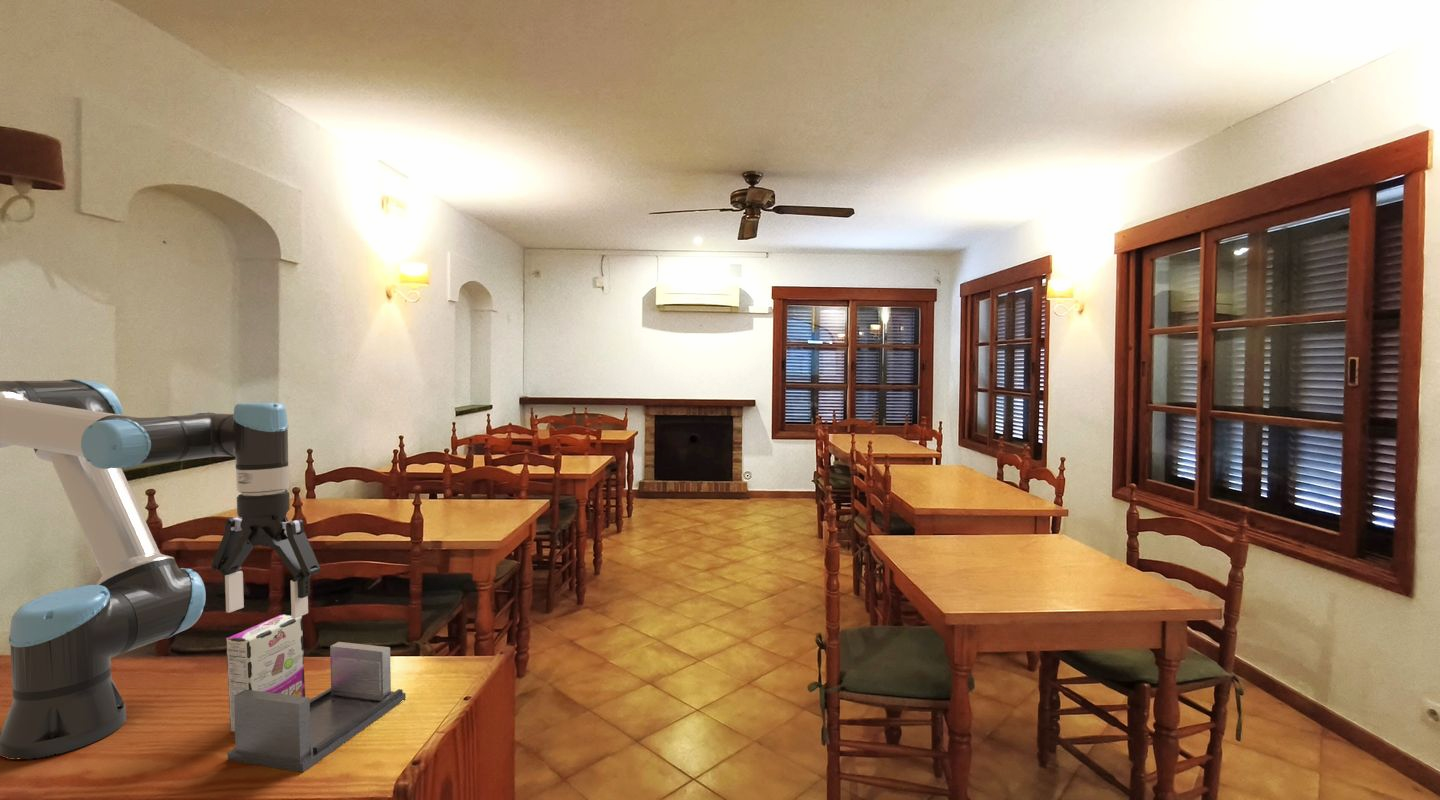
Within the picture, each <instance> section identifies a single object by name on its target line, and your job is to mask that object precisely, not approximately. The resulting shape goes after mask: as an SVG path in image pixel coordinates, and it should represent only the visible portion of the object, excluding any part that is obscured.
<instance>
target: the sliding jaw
mask: <svg viewBox="0 0 1440 800" xmlns="http://www.w3.org/2000/svg"><path fill="white" fill-rule="evenodd" d="M329 650H330V653H329V655H330V656H329V657H330V661H329V663H330V688H331V694H333V695H340V696H348V697H356V698H364V699H372V700H380V701H382V700H384V699H385V698H386V697H388V696H389V695H391V691H392V686H391V685H392V683H391V681H392V679H391V676H392V675H391V674H392V673H391V647H390V646H382V645H381V646H379V645H373V644H362V643H353V642H344V641H343V642H342V641H337V642H336V643H334V644H331V645H330V647H329Z"/></svg>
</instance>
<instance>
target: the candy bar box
mask: <svg viewBox="0 0 1440 800" xmlns="http://www.w3.org/2000/svg"><path fill="white" fill-rule="evenodd" d="M303 635H304V634H303V615H302V616H300V617H298V618H292V616H291V614H280V615H277V616H275V617H273V618H270V619H268V620H266V621H263V622H261V623H258V624H257V625H254V626H252V627H248V628H247V629H245V630H242V631H241V632H238V633H235V634H233V635H231V636H229V637H226V638H225V640H226V641H225V643H226V644H225V645H226V659H227V662H226V663H227V680H228V681H227V682H228V683H227V684H228V703H229V704H228V705H229V725H230V728H229V729H230V732H231V733H234V734H235V707H234V695H236V694H238V693H240V692H242V691H244V690H254V691H261V692H269V693H277V694H284V695H292V696H300V697H306V688H305V687H306V684H305V681H306V680H305V663H304V661H305V659H304V637H303Z"/></svg>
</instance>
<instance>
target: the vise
mask: <svg viewBox="0 0 1440 800" xmlns="http://www.w3.org/2000/svg"><path fill="white" fill-rule="evenodd" d="M405 698H406V692H404V690H403V689H400V688H398V689H397V690H395V691H392V690H391V695H389V696H388V697H386V698H385V699H384V700H382V701H380V700H372V699H364V698H356V697H348V696H340V695H333V694H331V687H329V688H327V689H326V690H325V691H323V692H321V693H320V694H318V695H316V696H315V697H313V698H310V697H307V696H305V697H300V696H292V695H284V694H277V693H269V692H261V691H254V690H244V691H242V692H240V693H238V694H236V695H234V707H235V733H234V737H235V740H234V741H235V742H234V743H235V748H233V749H231V750H230V751H228V752H227V753H226V754H227V761H230V762H237V763H244V764H250V765H256V766H262V767H268V768H274V769H279V770H280V769H281V770H287V771H293V772H298V773H299V772H301V773H304V772H306V771H308V769H310V768H311V767H313V766H314V765H316V764H317V763H318V762H320V761H321V760H322V759H324V758H325V757H326V756H328V755H330V754H331V753H333V752H334V751H335V750H337V749H338V748H339V747H340V746H343V745H344V744H345V743H346V742H348V741H350V739H352V738H353V737H354V736H356V735H357V734H359V733H360V732H362V731H364V730H365V729H366V728H368V727H369V726H370V725H371V724H373V723H375V722H376V721H377V720H379V719H380V718H382V717H383V716H384V715H386V714H387V713H388V712H390V711H391V710H393V709H394V708H395V706H396V705H397V706H399V705H400V704H401V703H402V702H401V701H402V700H404V699H405ZM405 700H406V699H405ZM405 700H404V701H405ZM400 702H401V703H400ZM399 703H400V704H399ZM397 706H396V707H397ZM343 743H344V744H343Z"/></svg>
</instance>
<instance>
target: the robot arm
mask: <svg viewBox="0 0 1440 800" xmlns="http://www.w3.org/2000/svg"><path fill="white" fill-rule="evenodd" d="M123 414H124V410H123V406H122V404H121V402H120V399H119V398H118V396H117V395H116V394H115V392H114V391H113V390H112V389H111V388H109V387H108V386H107V385H105V384H103V383H100V382H97V381H93V380H81V379H76V378H75V379H74V378H73V379H72V378H71V379H62V380H0V448H7V447H12V446H18V447H24V448H29V449H33V450H34V453H35V455H36V456H37V457H38V459H40V460H43V461H47V462H50V463H52V466H53V468H54V470H55V471H56V475H57V476H58V479H59V482H60V483H61V486H62V488H63V490H64V492H65V495H66V497H67V499H68V501H69V504H70V506H71V508H72V511H73V513H74V515H75V518H76V519H77V522H78V523H79V526H80V528H81V531H82V533H83V535H84V537H85V539H86V542H87V544H88V547H89V548H90V550H91V553H92V555H93V558H94V560H95V562H96V564H97V566H98V569H99V571H100V573H101V577H100V578H99V580H98V582H96V584H85V585H79V586H74V587H73V588H64V589H59V590H56V591H53V592H49V593H47V594H44V595H41V596H38V597H37V598H33V599H32V600H30V601H28V602H26V603H25V604H23V605H21V606H20V607H19V608H18V609H17V610H16V611H15V612H14V614H13V615H12V616H11V618H10V619H11V620H10V628H9V635H8V643H9V645H10V664H11V665H10V666H11V667H10V668H11V685H12V703H11V705H10V708H9V711H8V713H7V715H6V718H5V721H4V724H3V726H2V729H1V732H0V755H2V756H5V757H8V758H14V759H17V758H20V759H27V760H34V759H33V758H36V759H41V757H42V758H47V757H51V755H52V756H55V755H54V754H56V755H59V754H60V755H61V754H64V753H67V752H71V751H73V750H76V749H79V748H83V747H85V746H88V745H91V744H93V743H95V742H97V741H100V740H101V739H104V738H105V737H107V736H110V735H111V734H112V733H113V734H114V732H116V731H117V730H119V729H120V728H121V727H122V726H123V725H124V724H125V722H126V721H127V707H126V703H125V701H124V699H123V698H122V695H121V694H120V691H119V689H118V688H117V686H116V684H115V682H114V680H113V678H112V661H111V659H112V658H113V657H115V656H119V655H121V654H122V655H123V654H125V653H127V652H130V651H133V650H135V649H139V648H141V647H144V646H146V645H149V644H152V643H155V642H158V641H160V640H163V639H164V640H165V639H169V638H171V637H173V636H174V635H176V634H179V633H181V632H183V631H184V632H185V631H186V630H188V629H189V628H191V627H193V626H194V625H195V624H197V622H198V620H199V619H200V618H201V616H202V613H203V612H204V607H205V605H206V586H205V584H204V583H205V582H204V581H203V579H202V577H201V576H200V574H199V573H198V572H196V571H194V570H193V569H192V568H184V567H181V568H179V566H178V564H177V562H176V560H175V557H174V556H170V555H166V554H162V553H161V552H160V549H159V548H158V545H157V542H156V541H155V539H154V537H153V534H152V532H151V530H150V528H149V526H148V524H147V522H146V519H145V517H144V515H143V513H142V510H141V508H140V506H139V504H138V502H137V499H136V497H135V495H134V492H133V491H132V487H131V486H130V484H129V482H128V480H127V478H126V475H125V473H124V470H123V469H129V468H133V467H139V466H147V465H154V464H161V463H173V462H179V461H190V460H196V459H197V460H198V459H204V458H213V457H216V458H217V457H231V458H232V457H233V458H235V470H236V472H235V473H236V474H235V475H236V476H235V477H236V481H235V482H236V491H237V492H238V493H240V494H238V495H237V497H236V513H237V515H238V516H236V517H233V518H231V517H230V518H228V519H226V520H225V524H224V525H225V526H224V533H223V536H222V539H221V541H220V543H219V546H218V549H217V552H216V554H215V556H214V559H213V562H212V564H211V569H212V570H213V571H219V573H220V574H221V575H222V585H223V589H222V590H223V592H225V613H233V612H236V611H237V610H241V609H243V608H245V605H244V604H245V603H244V602H245V599H244V598H245V597H244V573H243V571H242V569H243V567H241V566H242V565H243V564H244V562H245V560H246V559H247V558H248V557H249V555H250V554H251V552H252V550H253V549H254V548H255V547H257V546H261V547H269V548H270V549H271V550H272V551H275V552H276V554H277V555H278V556H279V558H280V559H281V561H282V562H283V564H284V565H285V566H286V568H287V569H288V571H289V572H290V573H291V575H292V576H293V578H292V579H290V605H291V606H290V607H291V609H290V611H291V614H290V615H291V616H292V618H298V617H300V616H302V617H303V616H305V615H307V614H309V596H310V594H311V577H312V576H314V575H317V574H319V573H321V571H322V568H321V566H320V564H319V562H318V560H317V557H316V554H315V552H314V550H313V547H312V546H311V543H310V542H309V539H308V536H307V535H306V532H305V524H304V521H303V519H301V518H299V519H296V520H292V521H288V519H287V514H288V512H289V511H290V510H291V506H290V505H291V504H290V503H291V501H290V500H291V498H290V492H289V491H288V490H287V489H289V487H290V473H289V472H290V471H289V470H290V469H289V439H288V438H289V434H288V432H289V423H288V416H287V409H286V406H285V404H284V403H281V402H275V401H273V402H272V401H271V402H270V401H269V402H243V403H237V404H236V405H235V406H234V409H233V413H214V412H209V411H208V412H198V413H197V412H196V413H192V414H186V415H168V416H167V415H166V416H154V417H153V416H152V417H151V416H150V417H136V416H129V415H123ZM46 756H47V757H46Z"/></svg>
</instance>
